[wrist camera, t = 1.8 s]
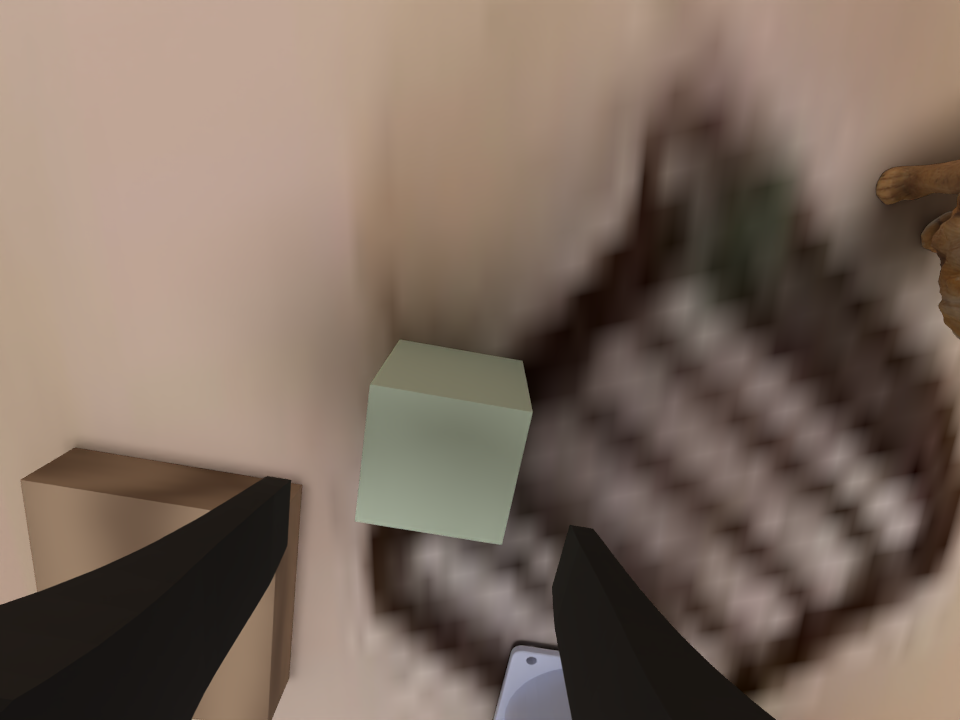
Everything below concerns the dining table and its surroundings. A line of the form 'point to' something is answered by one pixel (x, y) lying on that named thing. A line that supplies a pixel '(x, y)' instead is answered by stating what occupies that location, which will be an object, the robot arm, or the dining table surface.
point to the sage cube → (443, 442)
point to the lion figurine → (933, 224)
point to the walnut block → (143, 520)
